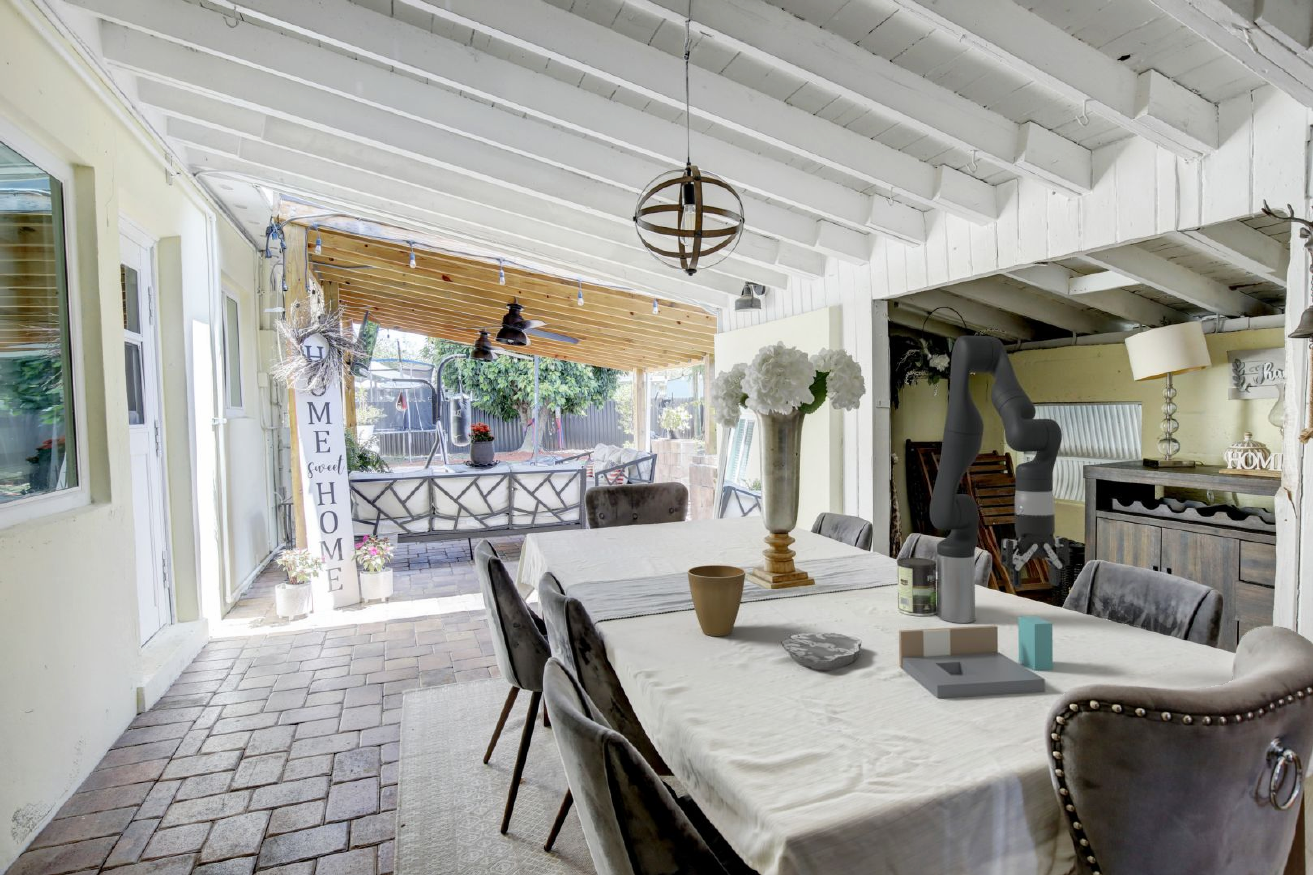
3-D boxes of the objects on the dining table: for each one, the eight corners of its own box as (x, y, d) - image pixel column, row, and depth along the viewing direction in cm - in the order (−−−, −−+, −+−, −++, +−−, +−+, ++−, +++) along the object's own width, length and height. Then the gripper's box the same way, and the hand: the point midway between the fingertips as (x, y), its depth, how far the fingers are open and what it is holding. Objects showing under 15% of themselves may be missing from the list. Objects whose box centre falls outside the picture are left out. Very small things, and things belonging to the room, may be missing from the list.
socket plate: (899, 666, 146) (898, 630, 145) (995, 661, 147) (994, 625, 147) (937, 698, 129) (937, 657, 129) (1044, 691, 131) (1044, 651, 131)
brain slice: (805, 639, 166) (805, 627, 166) (872, 653, 155) (872, 640, 155) (765, 662, 151) (765, 649, 151) (836, 680, 140) (836, 666, 140)
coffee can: (941, 609, 187) (940, 559, 186) (931, 618, 179) (930, 566, 178) (903, 603, 193) (903, 555, 193) (892, 612, 185) (891, 562, 184)
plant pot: (744, 642, 163) (743, 578, 163) (684, 640, 166) (683, 576, 166) (748, 624, 178) (747, 564, 177) (693, 621, 181) (692, 563, 180)
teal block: (1018, 661, 147) (1018, 616, 147) (1035, 660, 147) (1035, 615, 147) (1034, 670, 142) (1034, 624, 141) (1052, 669, 142) (1052, 623, 142)
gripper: (1053, 507, 148) (1054, 580, 148) (992, 510, 147) (993, 583, 147) (1077, 512, 141) (1078, 588, 141) (1013, 514, 139) (1015, 591, 140)
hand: (1035, 585), depth 144 cm, fingers open, 8 cm apart
